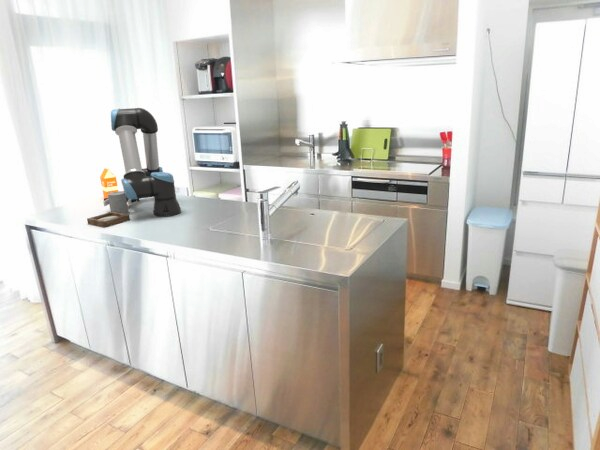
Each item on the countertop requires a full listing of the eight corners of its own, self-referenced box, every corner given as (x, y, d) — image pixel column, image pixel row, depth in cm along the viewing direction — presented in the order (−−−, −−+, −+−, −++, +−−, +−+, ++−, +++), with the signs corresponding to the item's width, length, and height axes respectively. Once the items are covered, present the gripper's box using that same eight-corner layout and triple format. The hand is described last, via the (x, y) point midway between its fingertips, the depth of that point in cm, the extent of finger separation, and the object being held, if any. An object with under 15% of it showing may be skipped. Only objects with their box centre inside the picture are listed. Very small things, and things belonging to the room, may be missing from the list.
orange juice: (115, 196, 285) (110, 167, 279) (119, 198, 279) (114, 168, 273) (103, 198, 280) (98, 168, 274) (107, 200, 274) (102, 170, 268)
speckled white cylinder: (132, 211, 243) (128, 191, 240) (123, 216, 234) (120, 195, 230) (116, 212, 244) (112, 191, 241) (107, 216, 235) (103, 195, 232)
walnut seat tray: (130, 220, 226) (129, 214, 225) (104, 227, 214) (103, 222, 213) (113, 216, 234) (112, 211, 233) (88, 224, 222) (86, 218, 221)
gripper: (151, 199, 257) (139, 208, 237) (110, 201, 256) (95, 210, 236) (149, 187, 255) (137, 195, 234) (108, 189, 254) (93, 197, 234)
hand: (116, 203), depth 235 cm, fingers open, 13 cm apart
